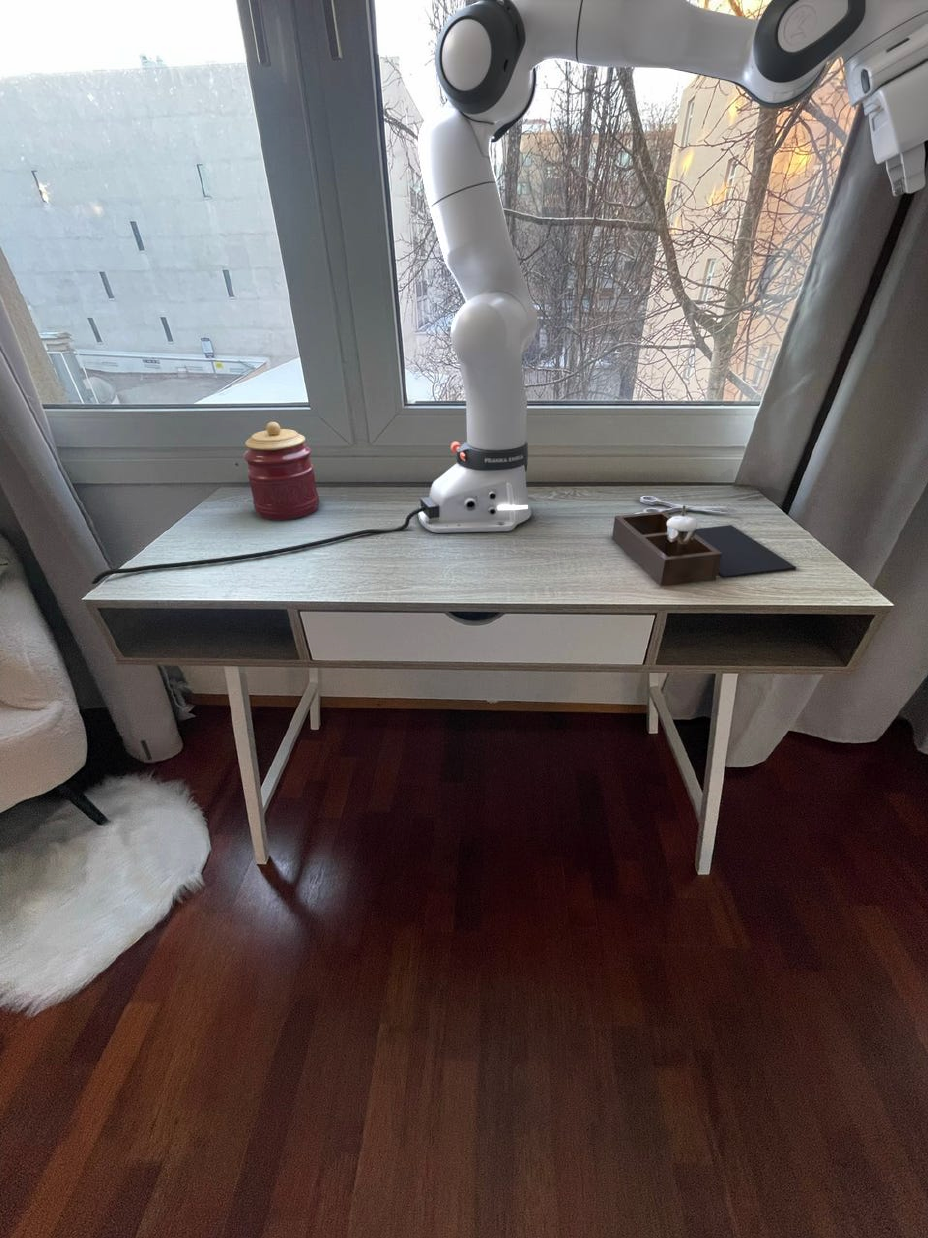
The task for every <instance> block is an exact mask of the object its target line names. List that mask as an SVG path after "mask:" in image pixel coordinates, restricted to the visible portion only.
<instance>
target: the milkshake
mask: <svg viewBox="0 0 928 1238" xmlns="http://www.w3.org/2000/svg"><path fill="white" fill-rule="evenodd" d="M682 505H683V508H682V511H681V515H675V516H672V518H670V519H669V520H668V521H667V525H666V544H665V555H666V556H668V557H671V556H680V555H688V554H689V551H690V548H691V544H692V541H693V538H694V535H695V532H696V529H698V521H697V520H696V519H695V518H692V517H690V516H685V515H686V511H687V510H686V505H687V504H682Z"/></svg>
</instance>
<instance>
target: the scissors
mask: <svg viewBox="0 0 928 1238" xmlns="http://www.w3.org/2000/svg"><path fill="white" fill-rule="evenodd" d="M639 502H640V503H642V504H645V505H650V506H651V505H652V506H653V505H662V506H663V505H664V506H667V507H670V508H656V507H647V508H644V509H643V510H642V511H640V512H639V511H638V512H634V514H643V513H653V512H663V511H665V512H666V513H668V514H670V513H673V512H682V508H683V505H684V504H681V503H675V502H674V503H673V502H670V501H667V500H662V499H659V498H658V497H655V496H653V495H652V496H651V495H642V496H640V497H639ZM685 505H686V510H685V511H696V512H705V513H714V514H724V515H734V512H733V513H732V512H727V511H726V512H725V511H719V510H711V509H721V508H723V509H724V508H725V506H721V505H718V506H717V505H688V504H685ZM736 515H737V516H739V515H740V516H741V514H739V513H736Z"/></svg>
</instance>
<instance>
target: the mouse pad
mask: <svg viewBox="0 0 928 1238" xmlns="http://www.w3.org/2000/svg"><path fill="white" fill-rule="evenodd" d="M695 534H696V535H698V536H699V537H700V538H702V539H703V540H705V541H706V542H707V543H709V544H710V545H711V546H713V547H714V548H716V549H717V550H718V551H720V552H721V553H722V558H721V562H720V566H719V571H718V575H719V576H720V577H721V578H722V579H728V578H735V577H736V578H737V577H743V576H744V577H745V576H754V575H761V574H769V573H777V572H784V571H785V572H786V571H792V570H793V571H794V570H796V569H797V566H795V565H793V564H792V563H791V562H789V561H787V560H786V559H784V558H783V557H781V556H780V555H778V554H777V553H775V552H773V551H772V550H770V549H769V548H768V547H765V545H763V544H761V543H759V542H758V541H757V540H755V539H754V538H751V537H750V536H749V535H747V534H745V533H744V532H742V531H741V530H740V529H738V528H737V527H735V526H734V525H732V524H731V525H721V526H711V527H710V526H709V527H701V528H697V529H696V532H695ZM718 575H717V576H718Z"/></svg>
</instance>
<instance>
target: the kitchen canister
mask: <svg viewBox="0 0 928 1238" xmlns="http://www.w3.org/2000/svg"><path fill="white" fill-rule="evenodd" d="M265 428H266V429H265V430H262V431H259V432H254V433H253V434H251V437H249V438H248V439H247V440H246V441H245V443H244V444H245V446H246V447H247V450H246V451H245V452H244V454H243V455H242V456H243V457H242V458H243V459H244V460H245V461H246V462H247V467H248V469H247V470H246V471H247V472H246V475H247V476H248V480H249V484H250V489H251V494H252V499H253V502H252V504H253V507H254V509H255V511H256V514H257V515H258V517H260V518H263V519H267V520H273V521H284V520H285V521H286V520H292V519H298V518H303V517H305V516H308V515H311V514H312V513H314V512H315V511H316V510H317V509H318V508H319V501H320V498H319V494H318V491H317V484H316V477H315V470H314V469H315V466H314V464H313V463H312V461H311V456H310V455H311V454H312V448H311V447H310V446H309V445H307V444H305V441H306V437H305V436H304V435H302V434H300V433H298V432H297V431H296V430H293V429H290V428H289V429H287V428H281V426H280V424H279V423H278V422H276V421H270V422H268V423H267V424H266V427H265Z"/></svg>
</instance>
